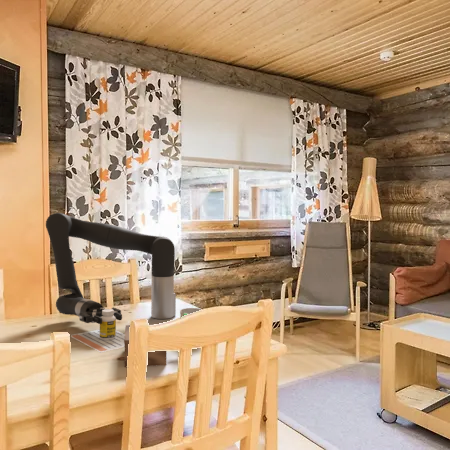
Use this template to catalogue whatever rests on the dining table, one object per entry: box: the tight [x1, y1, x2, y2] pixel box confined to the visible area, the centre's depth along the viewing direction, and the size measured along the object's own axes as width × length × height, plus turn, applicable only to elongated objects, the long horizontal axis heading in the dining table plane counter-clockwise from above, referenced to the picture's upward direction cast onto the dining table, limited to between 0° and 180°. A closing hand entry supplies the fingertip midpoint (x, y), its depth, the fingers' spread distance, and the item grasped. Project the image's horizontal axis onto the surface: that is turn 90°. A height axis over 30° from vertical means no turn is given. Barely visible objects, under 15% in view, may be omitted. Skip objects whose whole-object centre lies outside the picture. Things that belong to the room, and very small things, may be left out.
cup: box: [179, 307, 202, 318], centre depth 156 cm, size 8×8×10 cm
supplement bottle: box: [99, 308, 117, 340], centre depth 155 cm, size 5×5×10 cm
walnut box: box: [124, 323, 167, 368], centre depth 138 cm, size 12×16×8 cm
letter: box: [70, 328, 125, 353], centre depth 155 cm, size 16×24×1 cm, turn 43°
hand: (111, 319), depth 154 cm, fingers open, 7 cm apart
